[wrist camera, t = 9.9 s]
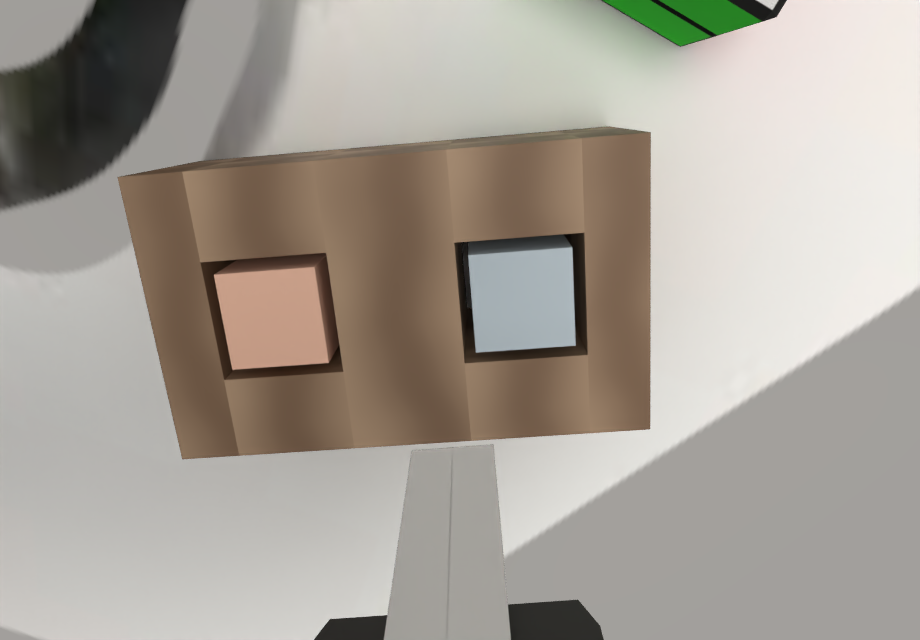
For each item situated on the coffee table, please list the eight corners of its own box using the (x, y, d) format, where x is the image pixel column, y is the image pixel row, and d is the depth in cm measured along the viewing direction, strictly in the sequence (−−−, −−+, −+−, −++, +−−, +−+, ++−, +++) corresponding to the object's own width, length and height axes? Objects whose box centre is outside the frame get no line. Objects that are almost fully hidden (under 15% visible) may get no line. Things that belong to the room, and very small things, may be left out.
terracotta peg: (282, 315, 35) (232, 369, 28) (269, 239, 34) (213, 274, 26) (359, 310, 35) (328, 362, 28) (348, 232, 33) (314, 267, 26)
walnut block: (243, 386, 37) (182, 459, 29) (199, 161, 33) (117, 177, 26) (612, 360, 36) (650, 429, 28) (609, 126, 32) (650, 132, 25)
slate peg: (475, 301, 34) (475, 352, 27) (469, 223, 33) (468, 255, 26) (554, 295, 34) (575, 345, 27) (551, 216, 33) (572, 247, 26)
